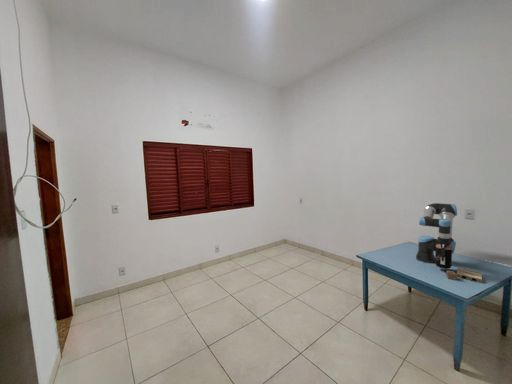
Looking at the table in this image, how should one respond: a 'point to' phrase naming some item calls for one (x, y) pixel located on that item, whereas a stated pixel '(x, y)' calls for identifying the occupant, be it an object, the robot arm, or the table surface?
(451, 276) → the cargo block
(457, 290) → the table surface
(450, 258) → the coffee jar
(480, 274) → the pallet dock
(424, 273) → the table surface
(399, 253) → the table surface
